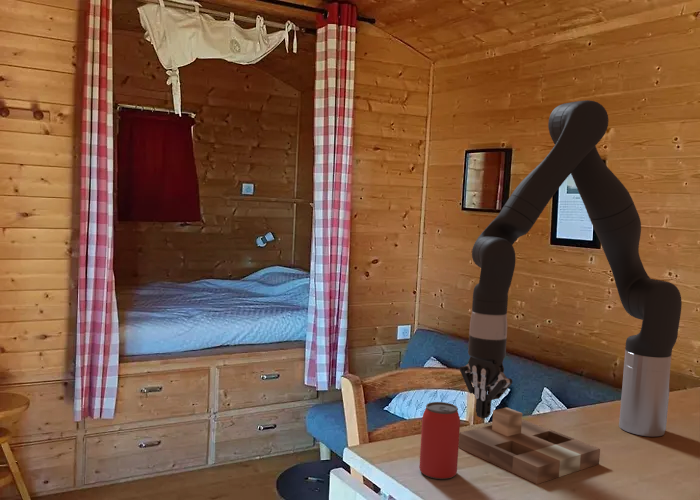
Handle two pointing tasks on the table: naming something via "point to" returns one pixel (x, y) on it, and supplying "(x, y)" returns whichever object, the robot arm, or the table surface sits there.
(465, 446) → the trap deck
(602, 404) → the table surface
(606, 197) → the robot arm
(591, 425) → the table surface
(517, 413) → the maple block
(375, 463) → the table surface
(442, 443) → the beer can
